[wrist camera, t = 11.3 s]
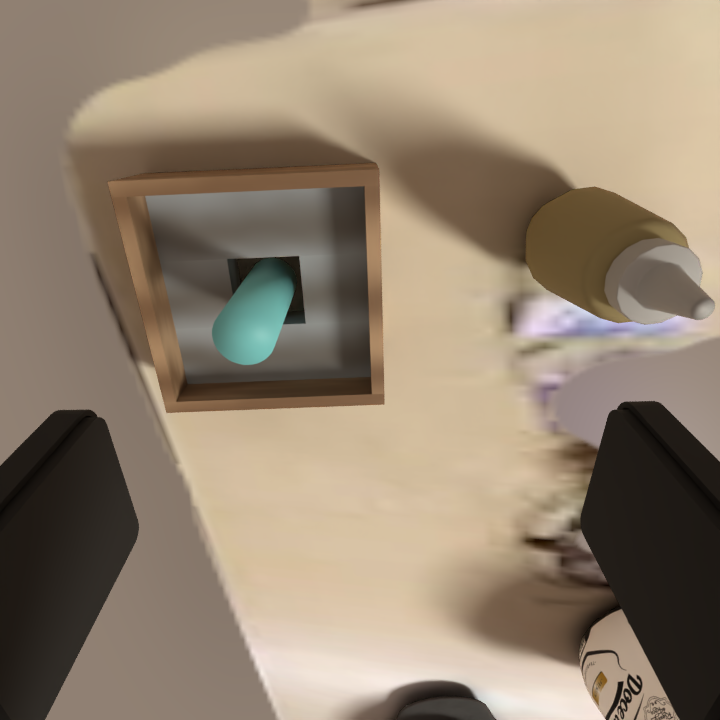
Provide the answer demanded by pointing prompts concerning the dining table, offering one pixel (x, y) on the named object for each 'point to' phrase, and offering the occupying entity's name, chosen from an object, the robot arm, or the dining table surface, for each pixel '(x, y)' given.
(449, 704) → the casserole
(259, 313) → the peg
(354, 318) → the box
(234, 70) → the dining table surface
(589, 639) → the doce de leite jar
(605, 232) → the squeeze bottle
